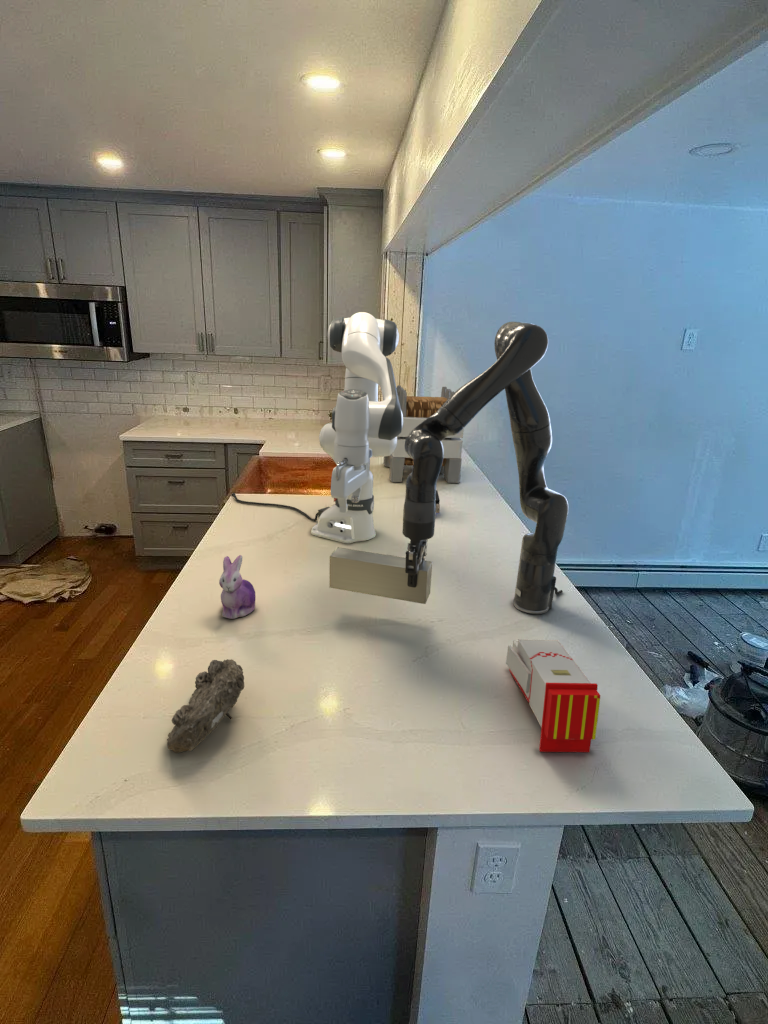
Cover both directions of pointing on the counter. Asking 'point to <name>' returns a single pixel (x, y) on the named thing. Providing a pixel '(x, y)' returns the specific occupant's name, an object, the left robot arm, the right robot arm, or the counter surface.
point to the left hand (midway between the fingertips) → (349, 506)
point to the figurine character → (437, 503)
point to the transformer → (413, 415)
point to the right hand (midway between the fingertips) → (415, 580)
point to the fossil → (206, 705)
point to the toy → (556, 694)
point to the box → (378, 575)
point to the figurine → (235, 590)
